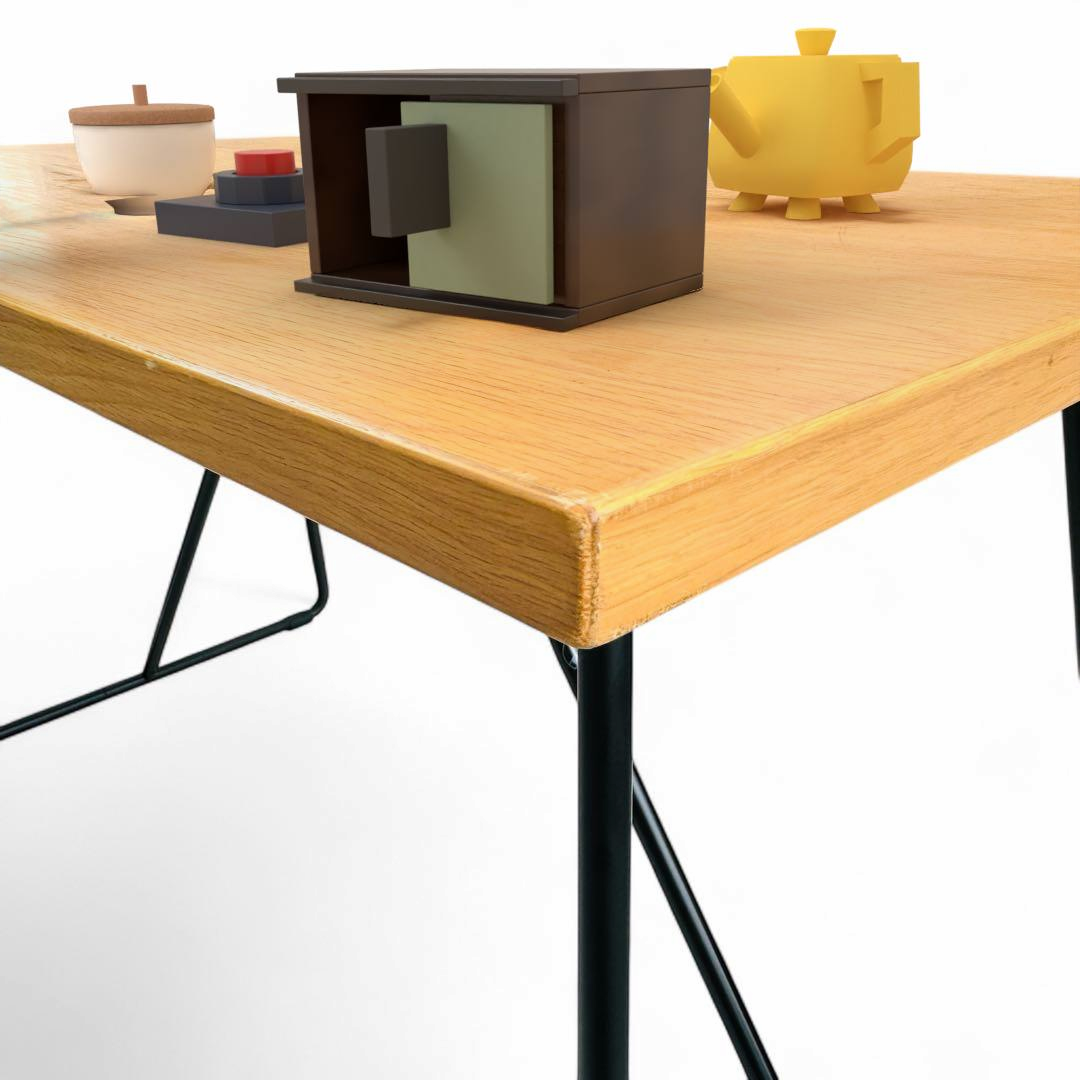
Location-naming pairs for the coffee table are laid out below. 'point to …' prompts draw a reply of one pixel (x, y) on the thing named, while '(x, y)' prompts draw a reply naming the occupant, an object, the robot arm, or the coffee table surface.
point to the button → (265, 162)
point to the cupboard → (578, 185)
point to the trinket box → (145, 150)
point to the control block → (241, 211)
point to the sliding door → (468, 196)
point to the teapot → (813, 126)
